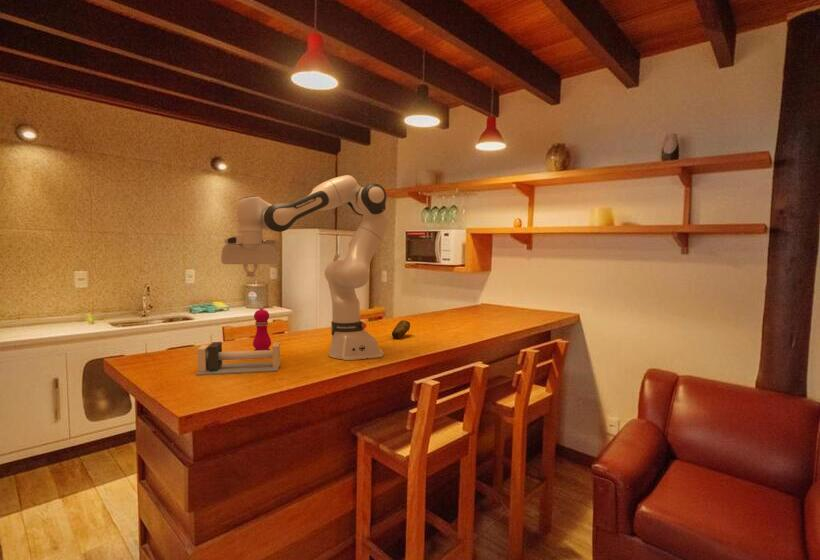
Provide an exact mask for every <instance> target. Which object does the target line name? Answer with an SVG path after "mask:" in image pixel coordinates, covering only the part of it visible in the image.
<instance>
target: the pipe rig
mask: <svg viewBox="0 0 820 560" xmlns="http://www.w3.org/2000/svg"><path fill="white" fill-rule="evenodd" d="M209 345H210V344H202V345H200V346H199V347H198V348H197V372H196V374H195V375H197V376H211V375H212V376H215V375H234V374H236V373H239V374H255V373H256V374H257V373H258V372H260V373H277V372H279V369H280V366H281V350H280V349H281V348H280V347H281V342H280V341H275V342H273V344H272V349H270V350H258V351H254V350H239V351H238V350H235V351H222V352H218V360H222V361H237V360H239V361H240V360H262V359H272V361H259V362H257V361H255V362H238V363H237V362H236V363H222V365H221V366H220V367H219V368H218V370H208V346H209ZM258 374H259V373H258Z"/></svg>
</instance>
